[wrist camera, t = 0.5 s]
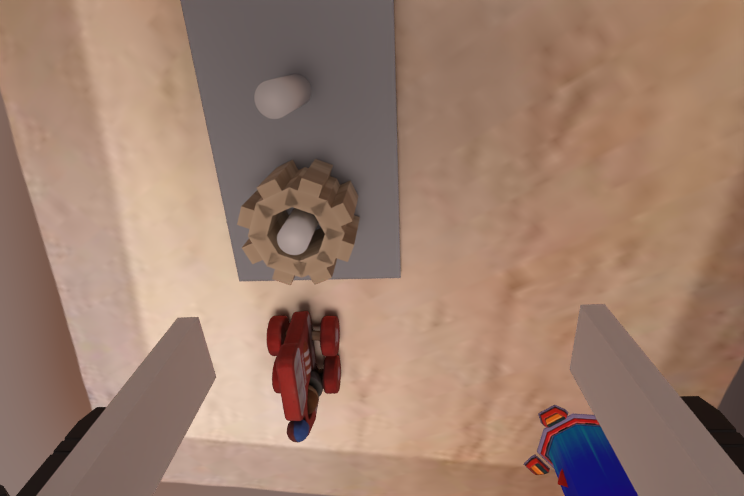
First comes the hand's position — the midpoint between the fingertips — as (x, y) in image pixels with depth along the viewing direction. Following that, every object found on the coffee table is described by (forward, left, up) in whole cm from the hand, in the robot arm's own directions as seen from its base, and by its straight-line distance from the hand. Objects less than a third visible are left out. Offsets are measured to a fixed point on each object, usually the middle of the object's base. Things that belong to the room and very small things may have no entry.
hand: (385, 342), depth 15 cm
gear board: (-2, -7, -25) cm, 26 cm away
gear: (+3, -7, -24) cm, 25 cm away
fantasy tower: (+35, +22, -25) cm, 48 cm away
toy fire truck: (+20, -10, -25) cm, 33 cm away
